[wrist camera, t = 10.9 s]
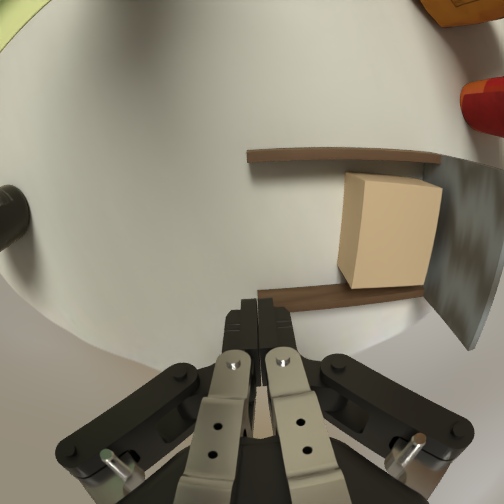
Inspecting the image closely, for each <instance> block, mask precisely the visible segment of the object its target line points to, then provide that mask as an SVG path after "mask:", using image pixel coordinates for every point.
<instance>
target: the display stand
mask: <svg viewBox="0 0 504 504" xmlns="http://www.w3.org/2000/svg"><path fill="white" fill-rule="evenodd" d="M49 1H50V0H0V52H1V51H2V50H3V48H4V47H5V46H6V45H7V44H8V43H9V41H10V40H11V39H12V38H13V37H14V36H15V35H16V34H17V33H18V31H19V30H20V29H21V28H22V27H23V26H24V25H25V24H26V23H27V22H28V21H29V20H30V19H31V18H32V17H33V16H34V15H35V14H36V13H37V12H38V11H39V10H40V9H42V8H43V7H44V6H45V5H46V4H47V3H48V2H49Z"/></svg>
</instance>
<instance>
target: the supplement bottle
mask: <svg viewBox="0 0 504 504" xmlns="http://www.w3.org/2000/svg"><path fill="white" fill-rule="evenodd" d="M28 224H29V210H28V205H27V202H26V200H25V198H24V196H23V194H22V193H21V191H20V190H19V189H18V188H16V187H15V186H13V185H4V186H1V187H0V252H1V251H2V250H4V249H5V248H7V247H8V246H10V245H11V244H13V243H14V242H16V241H17V240H18V239H20V238H21V237H22V236H23V235H24V234H25V233H26V231H27V228H28Z"/></svg>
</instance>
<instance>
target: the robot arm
mask: <svg viewBox="0 0 504 504" xmlns="http://www.w3.org/2000/svg"><path fill="white" fill-rule="evenodd" d="M258 322H259V325H258ZM260 360H261V369H260ZM261 372H262V383H263V386H267V393H268V404H269V410H270V416H271V423H272V428H273V436H271V437H268V438H264V439H255V438H253V428H254V416H255V404H256V399H255V398H256V387H257V386H261ZM324 419H326V420H327V421H329V422H330V423H332V424H333V425H335V426H336V427H337V428H339V429H340V430H342V431H343V432H345V433H346V434H348V435H349V436H351V437H352V438H354V439H355V440H357V441H358V442H360V443H361V444H363V445H364V446H366V447H368V448H369V449H371V450H372V451H374V452H375V453H377V454H379V455H380V456H382V457H384V458H385V462H384V464H385V469H386V470H387V472H388V473H389V474H388V473H387V472H385V471H384V470H382V469H380V468H379V467H378V466H376V465H375V464H373V463H372V462H370V461H369V460H368V459H366V458H365V457H363V456H362V455H360V454H359V453H358V452H356V451H355V450H353V449H352V448H350V447H349V446H348V445H347V444H345V443H343V442H341V441H339V440H337V439H334V438H331V437H329V435H328V431H327V429H326V425H325V422H324ZM193 432H194V434H193V438H192V442H191V445H190V446H188V447H186V448H184V449H183V450H181V451H180V452H178V453H177V454H176V455H175V456H174V457H172V458H171V459H170V460H169V461H168V462H167V463H166V464H164V465H163V466H162V467H161V468H160V469H159V470H157V471H156V472H155V473H154V474H152V475H151V476H150V477H149V478H148V479H146V480H145V473H144V472H145V471H146V470H147V469H149V468H150V467H151V466H153V465H154V464H155V463H157V462H158V461H159V460H160V459H162V458H163V457H164V456H165V455H167V454H168V453H169V452H170V451H172V450H173V449H174V448H175V447H177V446H178V445H179V444H180V443H181V442H183V441H184V440H185V439H186V438H187V437H188V436H190V435H191V434H192V433H193ZM473 438H474V428H473V426H472V424H471V422H470V421H468V420H467V419H466V418H464V417H462V416H460V415H457V414H456V413H454V412H451V411H449V410H447V409H446V408H444V407H442V406H440V405H438V404H436V403H434V402H432V401H430V400H428V399H426V398H424V397H422V396H420V395H418V394H417V393H415V392H413V391H411V390H409V389H407V388H405V387H403V386H401V385H400V384H398V383H396V382H394V381H392V380H390V379H388V378H387V377H385V376H383V375H381V374H380V373H378V372H376V371H374V370H372V369H370V368H369V367H367V366H365V365H363V364H362V363H360V362H358V361H356V360H354V359H353V358H351V357H349V356H347V355H344V354H332V355H329V356H327V357H325V358H324V359H323V360H322V361H314V360H309V359H306V358H304V357H303V356H301V355H300V354H299V352H298V351H297V347H296V342H295V337H294V332H293V327H292V321H291V316H290V312H289V311H288V310H287V309H286V308H285V307H274V305H273V297H268V298H258V312H257V300H256V298H254V299H241V310H231V311H230V312H229V313H228V315H227V316H226V320H225V328H224V337H223V346H222V354H221V355H219V357H218V358H217V360H216V363H214V364H213V365H211V366H208V367H205V368H201V369H196V368H195V367H194V366H193V365H191V364H189V363H177V364H174V365H172V366H170V367H168V368H167V369H166V370H164V371H163V372H162V373H160V374H159V375H157V376H156V377H155V378H153V379H152V380H150V381H149V382H148V383H146V384H145V385H143V386H142V387H141V388H139V389H138V390H136V391H135V392H133V393H132V394H130V395H129V396H128V397H127V398H125V399H123V400H122V401H120V402H119V403H118V404H116V405H115V406H113V407H112V408H110V409H109V410H107V411H106V412H104V413H103V414H101V415H100V416H98V417H97V418H95V419H94V420H92V421H91V422H89V423H88V424H86V425H85V426H83V427H82V428H80V429H79V430H77V431H75V432H74V433H72V434H71V435H69V436H68V437H66V438H65V439H63V440H62V441H60V443H59V444H58V445H57V447H56V450H55V456H56V459H57V461H58V462H59V463H60V464H61V465H62V466H63V467H64V468H65V469H67V470H68V471H69V472H70V474H71V475H73V476H74V477H75V478H76V479H78V480H79V481H80V482H81V484H82V485H83V487H84V488H85V489H86V491H87V492H88V493H89V495H90V496H91V498H92V499H93V500H94V501H95V503H96V504H429V502H428V501H427V500H428V498H429V497H430V495H431V494H432V492H433V491H434V489H435V488H436V486H437V485H438V483H439V482H440V480H441V479H442V477H443V475H444V474H445V472H446V471H447V469H448V467H449V465H450V464H451V463H452V462H453V461H454V460H455V459H456V458H457V457H458V456H459V455H460V454H461V453H462V452H463V451H464V450H465V449H466V447H468V445H469V444H470V443H471V442H472V440H473ZM144 480H145V481H144Z"/></svg>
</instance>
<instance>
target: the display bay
mask: <svg viewBox="0 0 504 504" xmlns="http://www.w3.org/2000/svg"><path fill="white" fill-rule="evenodd" d="M321 159H358V160H392V161H411V162H424V175H423V181H425V182H427V183H430V184H433V185H435V186H438V187H440V188H443V189H442V197H441V204H440V210H439V217H438V222H437V228H436V233H435V238H434V243H433V248H432V253H431V257H430V261H429V265H428V270H427V273H426V277H425V281H424V285H413V286H396V287H378V288H356V289H351V287H350V285H349V284H348V283H343V284H333V285H321V286H309V287H297V288H283V289H269V290H257V291H258V298H268V297H273V305H274V307H285V308H286V309H287V310H288V311H289V312H298V311H309V310H320V309H330V308H339V307H348V306H357V305H365V304H373V303H381V302H388V301H396V300H403V299H409V298H416V297H422V296H423V297H424V298H425V299H426V300H427V301H428V303H429V304H430V305H431V306H432V307H433V308H434V310H435V311H436V312H437V313H438V314H439V315H440V316H441V318H442V319H443V320H444V321H445V323H446V324H447V325H448V326H449V327H450V329H451V330H452V331H453V333H454V334H455V335H456V336H457V337H458V339H459V340H460V341H461V343H462V344H463V345H464V347H465V348H466V349H467V350H468V351H470V350H473V349H474V348H475V346H476V344H477V342H478V339H479V337H480V334H481V332H482V330H483V327H484V325H485V322H486V320H487V317H488V314H489V311H490V308H491V306H492V303H493V300H494V297H495V294H496V291H497V287H498V284H499V281H500V277H501V274H502V270H503V266H504V170H501V169H498V168H495V167H491V166H487V165H484V164H480V163H476V162H472V161H468V160H464V159H460V158H456V157H451V156H447V155H442V154H437V153H432V152H424V151H412V150H399V149H381V148H354V147H304V148H276V149H258V150H247V163H251V162H266V161H286V160H321Z"/></svg>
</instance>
